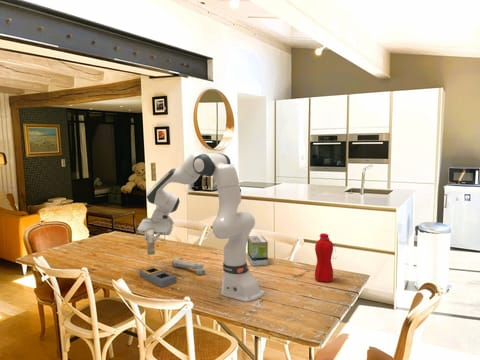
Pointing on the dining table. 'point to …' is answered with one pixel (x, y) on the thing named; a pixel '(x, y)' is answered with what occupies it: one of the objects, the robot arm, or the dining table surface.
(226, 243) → the robot arm
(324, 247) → the water bottle
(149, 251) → the peg
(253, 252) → the tea box
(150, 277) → the grey peg hole block
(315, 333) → the dining table surface
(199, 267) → the grey long bar
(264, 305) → the dining table surface
